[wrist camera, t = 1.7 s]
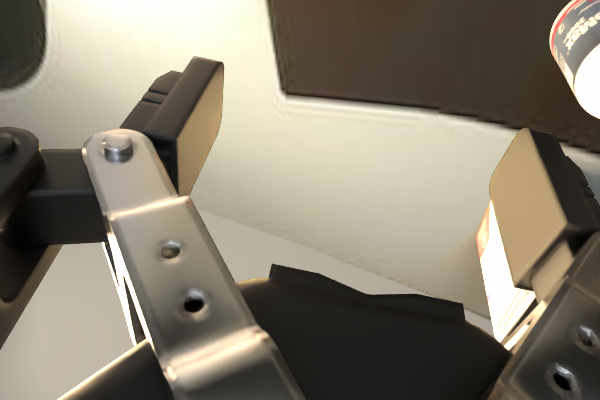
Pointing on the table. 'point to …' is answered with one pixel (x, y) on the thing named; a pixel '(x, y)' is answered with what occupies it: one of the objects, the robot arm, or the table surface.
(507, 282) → the ink cartridge box
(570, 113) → the table surface
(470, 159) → the table surface
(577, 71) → the pill bottle
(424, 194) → the table surface
